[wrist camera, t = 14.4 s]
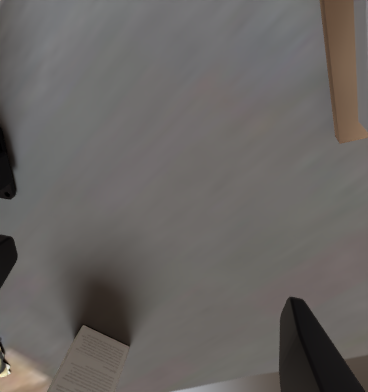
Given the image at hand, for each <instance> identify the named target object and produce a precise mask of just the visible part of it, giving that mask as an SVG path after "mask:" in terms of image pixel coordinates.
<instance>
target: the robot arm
mask: <svg viewBox="0 0 368 392" xmlns="http://www.w3.org/2000/svg"><path fill="white" fill-rule="evenodd" d="M15 195H16V192H15V188H14V183H13V179H12V174H11V169H10V165H9V160H8V156H7V151H6V147H5V142H4V137H3V133H2V129H1V128H0V198H4V199H12V198H13V197H15ZM17 256H18V255H17V250H16V246H15V242H14V239H13V238H12V237H11V236H6V235H0V288H1V287H2V285H3V283H4V281H5V280H6V278H7V276H8V275H9V273H10V271H11V270H12V268H13V266H14V265H15V263H16V261H17ZM279 375H280V387H281V392H365V390H364V389H363V387H362V386H361V384H360V383H359V381H358V380H357V378H356V377H355V375H354V374H353V372H352V371H351V370H350V368H349V366H348V365H347V364H346V362H345V361H344V359H343V358H342V356H341V355H340V353H339V352H338V350H337V349H336V347H335V346H334V344H333V343H332V341H331V340H330V338H329V337H328V335H327V334H326V332H325V331H324V329H323V328H322V326H321V325H320V323H319V322H318V320H317V319H316V317H315V316H314V314H313V313H312V311H311V310H310V309H309V307H308V306H307V304H306V303H305V301H304V300H303V299H300V298H295V297H289V298H288V299H287V301H286V304H285V306H284V308H283V311H282V313H281V317H280V351H279Z"/></svg>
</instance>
